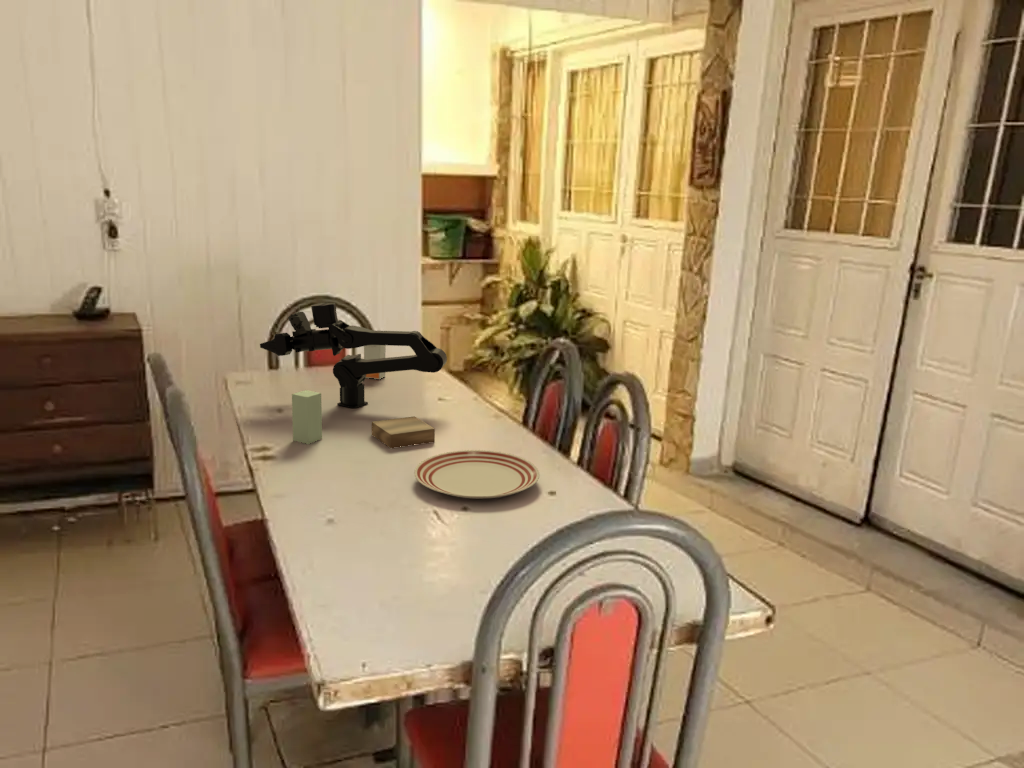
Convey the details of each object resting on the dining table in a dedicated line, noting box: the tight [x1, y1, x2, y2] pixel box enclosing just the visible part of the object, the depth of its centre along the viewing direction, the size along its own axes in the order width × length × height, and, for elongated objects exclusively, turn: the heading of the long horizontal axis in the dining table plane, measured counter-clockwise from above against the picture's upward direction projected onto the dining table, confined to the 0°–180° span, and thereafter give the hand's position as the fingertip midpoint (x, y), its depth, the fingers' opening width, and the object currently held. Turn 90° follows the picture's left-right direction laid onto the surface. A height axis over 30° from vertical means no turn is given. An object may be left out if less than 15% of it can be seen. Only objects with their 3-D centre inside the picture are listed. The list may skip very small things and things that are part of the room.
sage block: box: [291, 389, 323, 445], centre depth 203 cm, size 5×5×12 cm
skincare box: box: [363, 345, 387, 380], centre depth 269 cm, size 6×4×12 cm
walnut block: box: [371, 416, 436, 449], centre depth 208 cm, size 12×12×4 cm
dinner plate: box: [413, 449, 541, 500], centre depth 180 cm, size 28×27×3 cm
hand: (268, 344), depth 238 cm, fingers open, 9 cm apart
